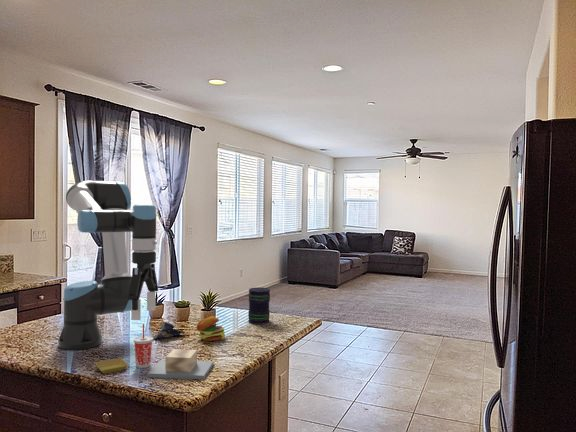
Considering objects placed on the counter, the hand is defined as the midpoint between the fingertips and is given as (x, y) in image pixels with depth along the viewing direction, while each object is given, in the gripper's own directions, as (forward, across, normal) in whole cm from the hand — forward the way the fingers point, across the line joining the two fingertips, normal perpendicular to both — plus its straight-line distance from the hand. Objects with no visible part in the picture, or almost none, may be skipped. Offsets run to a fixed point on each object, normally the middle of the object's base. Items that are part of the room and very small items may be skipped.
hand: (143, 315), depth 155 cm
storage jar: (+17, +62, -31) cm, 72 cm away
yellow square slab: (+18, -4, +9) cm, 20 cm away
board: (+17, -3, -14) cm, 22 cm away
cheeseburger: (+17, +33, -15) cm, 40 cm away
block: (+16, -3, -14) cm, 21 cm away
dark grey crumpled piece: (+17, +35, +3) cm, 39 cm away
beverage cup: (+17, 0, 0) cm, 17 cm away
